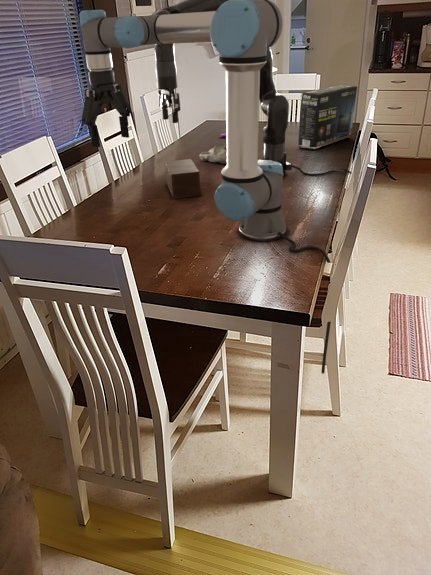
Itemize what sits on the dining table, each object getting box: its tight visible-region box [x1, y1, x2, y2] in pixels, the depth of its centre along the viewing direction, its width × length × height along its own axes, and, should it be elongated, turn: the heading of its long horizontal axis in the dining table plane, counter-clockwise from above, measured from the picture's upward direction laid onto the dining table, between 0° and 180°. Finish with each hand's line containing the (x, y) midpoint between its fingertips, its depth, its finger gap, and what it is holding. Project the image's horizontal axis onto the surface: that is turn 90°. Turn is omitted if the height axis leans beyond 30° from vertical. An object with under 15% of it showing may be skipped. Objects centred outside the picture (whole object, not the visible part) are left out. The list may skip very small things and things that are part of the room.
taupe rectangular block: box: [164, 158, 202, 200], centre depth 186 cm, size 18×11×10 cm, turn 13°
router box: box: [297, 84, 358, 151], centre depth 238 cm, size 36×11×27 cm, turn 134°
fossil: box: [199, 143, 227, 165], centre depth 224 cm, size 18×11×15 cm
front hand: (111, 141), depth 149 cm, fingers open, 13 cm apart
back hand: (170, 121), depth 174 cm, fingers open, 8 cm apart
